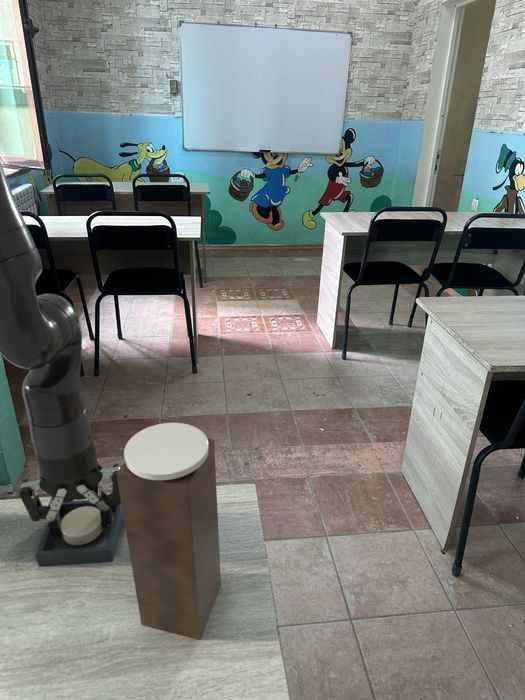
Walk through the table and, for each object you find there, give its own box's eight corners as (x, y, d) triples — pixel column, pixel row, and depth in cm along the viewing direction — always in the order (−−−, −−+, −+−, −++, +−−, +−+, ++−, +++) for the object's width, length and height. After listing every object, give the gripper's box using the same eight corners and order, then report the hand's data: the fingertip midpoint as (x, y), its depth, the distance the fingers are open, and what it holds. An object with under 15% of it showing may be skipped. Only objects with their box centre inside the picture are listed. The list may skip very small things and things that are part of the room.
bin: (40, 572, 69) (35, 555, 67) (61, 518, 78) (56, 501, 77) (113, 567, 70) (110, 550, 68) (125, 514, 79) (123, 497, 78)
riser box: (142, 631, 61) (116, 473, 50) (168, 578, 68) (150, 428, 57) (201, 646, 60) (188, 486, 48) (221, 590, 67) (214, 439, 55)
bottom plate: (109, 475, 50) (107, 466, 49) (148, 425, 57) (147, 417, 57) (191, 490, 48) (190, 481, 47) (219, 437, 55) (219, 428, 55)
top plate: (54, 543, 71) (51, 532, 70) (77, 514, 77) (75, 503, 75) (90, 551, 70) (87, 540, 69) (111, 521, 75) (109, 509, 74)
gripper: (117, 417, 71) (130, 502, 78) (10, 432, 67) (35, 521, 74) (118, 447, 64) (132, 538, 72) (0, 466, 60) (28, 560, 68)
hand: (82, 529), depth 73 cm, fingers closed on top plate, 6 cm apart
